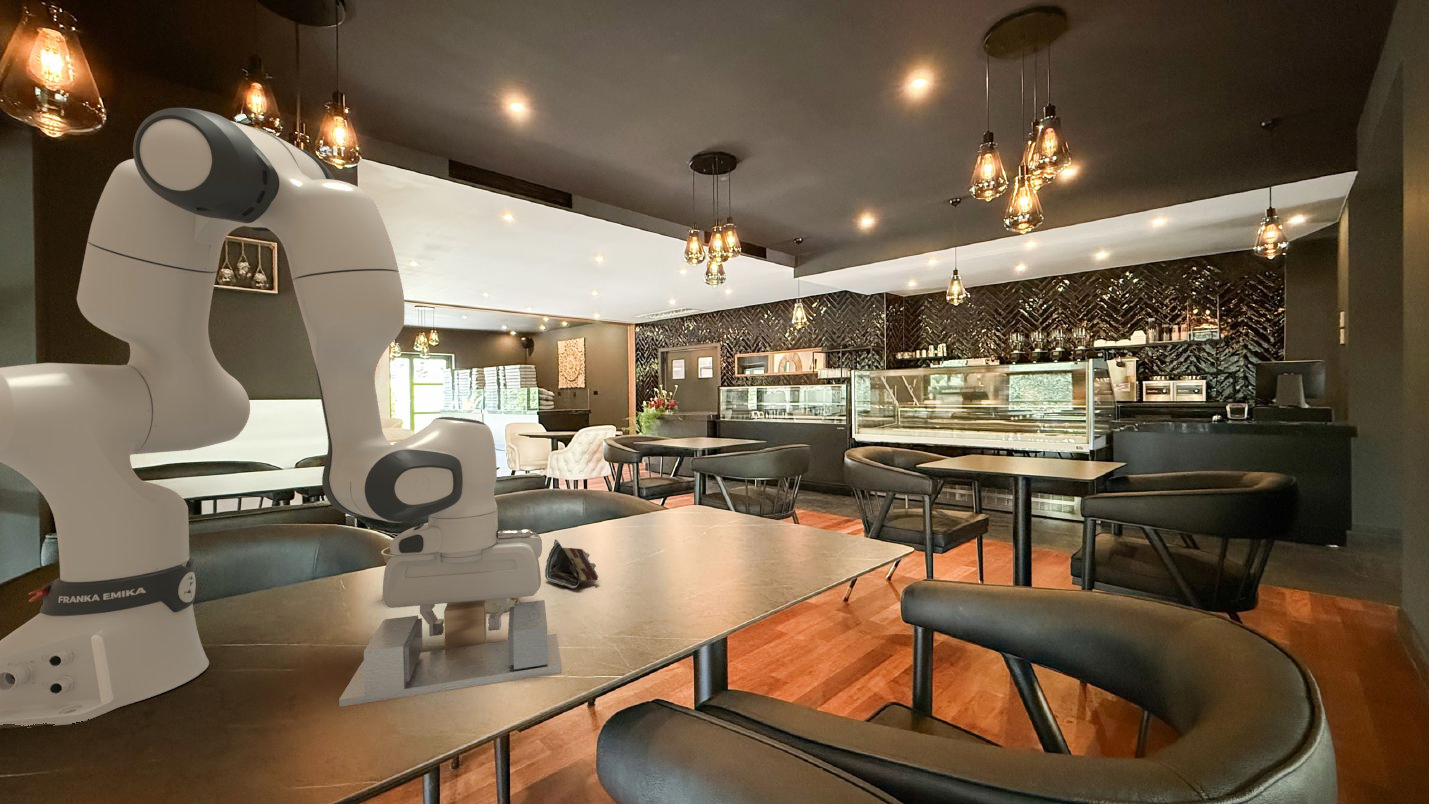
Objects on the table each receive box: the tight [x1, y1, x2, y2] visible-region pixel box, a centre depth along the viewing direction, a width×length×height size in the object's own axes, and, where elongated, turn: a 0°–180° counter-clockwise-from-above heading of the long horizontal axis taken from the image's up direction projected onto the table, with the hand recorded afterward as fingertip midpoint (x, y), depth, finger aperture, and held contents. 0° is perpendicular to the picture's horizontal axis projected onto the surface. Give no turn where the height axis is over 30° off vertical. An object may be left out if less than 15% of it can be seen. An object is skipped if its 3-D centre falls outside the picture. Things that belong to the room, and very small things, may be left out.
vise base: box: [338, 615, 562, 707], centre depth 73 cm, size 24×10×6 cm, turn 108°
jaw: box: [507, 599, 548, 669], centre depth 75 cm, size 5×10×5 cm, turn 18°
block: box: [443, 600, 487, 650], centre depth 80 cm, size 5×4×6 cm
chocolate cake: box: [544, 538, 599, 589], centre depth 109 cm, size 10×7×12 cm
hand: (466, 631), depth 80 cm, fingers open, 6 cm apart
